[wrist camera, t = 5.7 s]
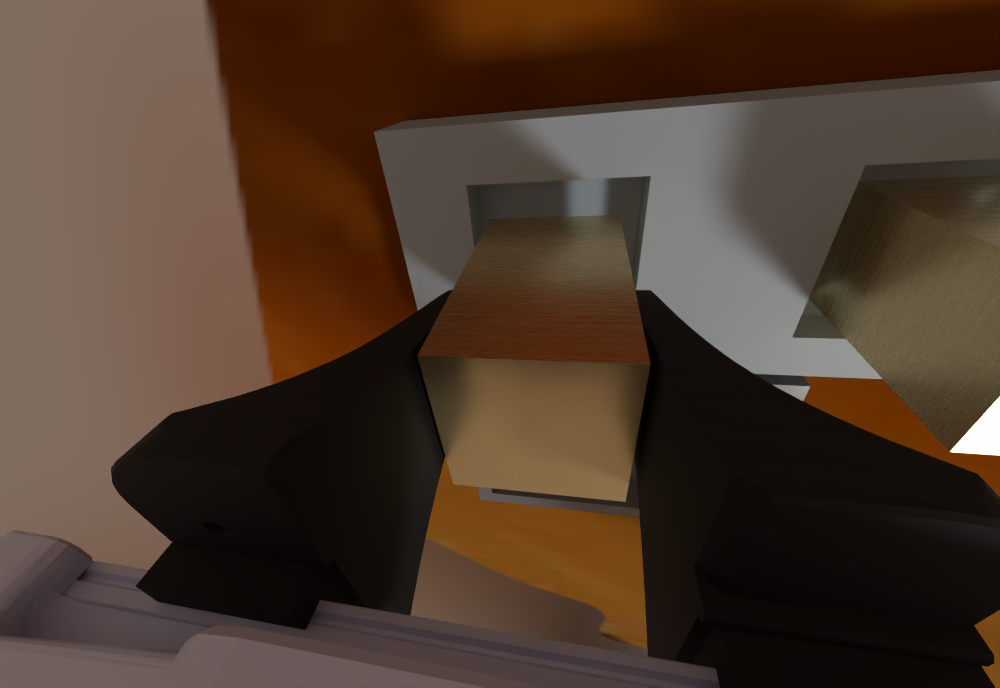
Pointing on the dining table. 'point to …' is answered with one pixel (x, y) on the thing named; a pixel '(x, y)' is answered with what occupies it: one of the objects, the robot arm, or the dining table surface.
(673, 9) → the dining table surface
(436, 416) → the block
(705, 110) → the grey pocketed tray
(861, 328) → the block
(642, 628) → the dining table surface
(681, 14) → the dining table surface
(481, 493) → the grey shallow rectangular tray
